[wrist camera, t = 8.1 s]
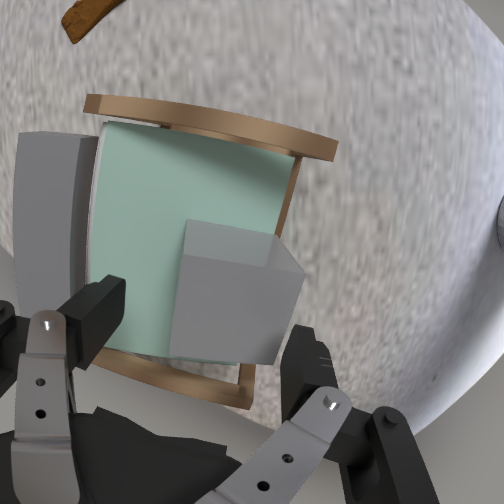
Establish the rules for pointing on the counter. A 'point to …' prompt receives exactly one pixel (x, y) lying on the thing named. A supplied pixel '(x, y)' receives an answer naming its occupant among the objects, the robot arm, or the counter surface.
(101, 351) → the wooden box frame
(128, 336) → the trapdoor
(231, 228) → the stone
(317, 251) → the counter surface
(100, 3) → the primitive tool
